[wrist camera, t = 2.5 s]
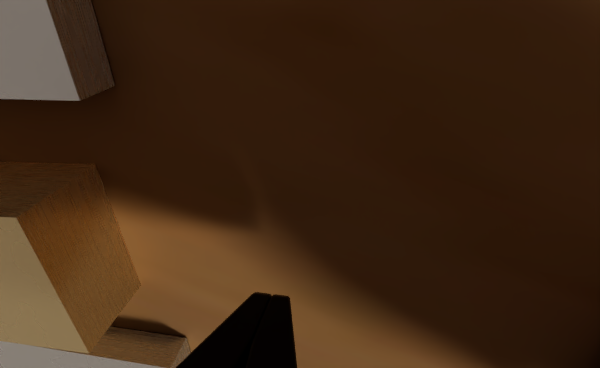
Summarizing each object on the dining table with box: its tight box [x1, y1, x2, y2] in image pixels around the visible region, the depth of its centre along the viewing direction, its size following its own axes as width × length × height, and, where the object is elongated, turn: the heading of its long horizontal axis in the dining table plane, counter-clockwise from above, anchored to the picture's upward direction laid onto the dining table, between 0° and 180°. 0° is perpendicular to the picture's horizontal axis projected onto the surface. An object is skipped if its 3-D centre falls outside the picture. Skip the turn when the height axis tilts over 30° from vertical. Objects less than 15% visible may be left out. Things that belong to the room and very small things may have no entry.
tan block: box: [0, 162, 141, 353], centre depth 11 cm, size 4×4×3 cm
